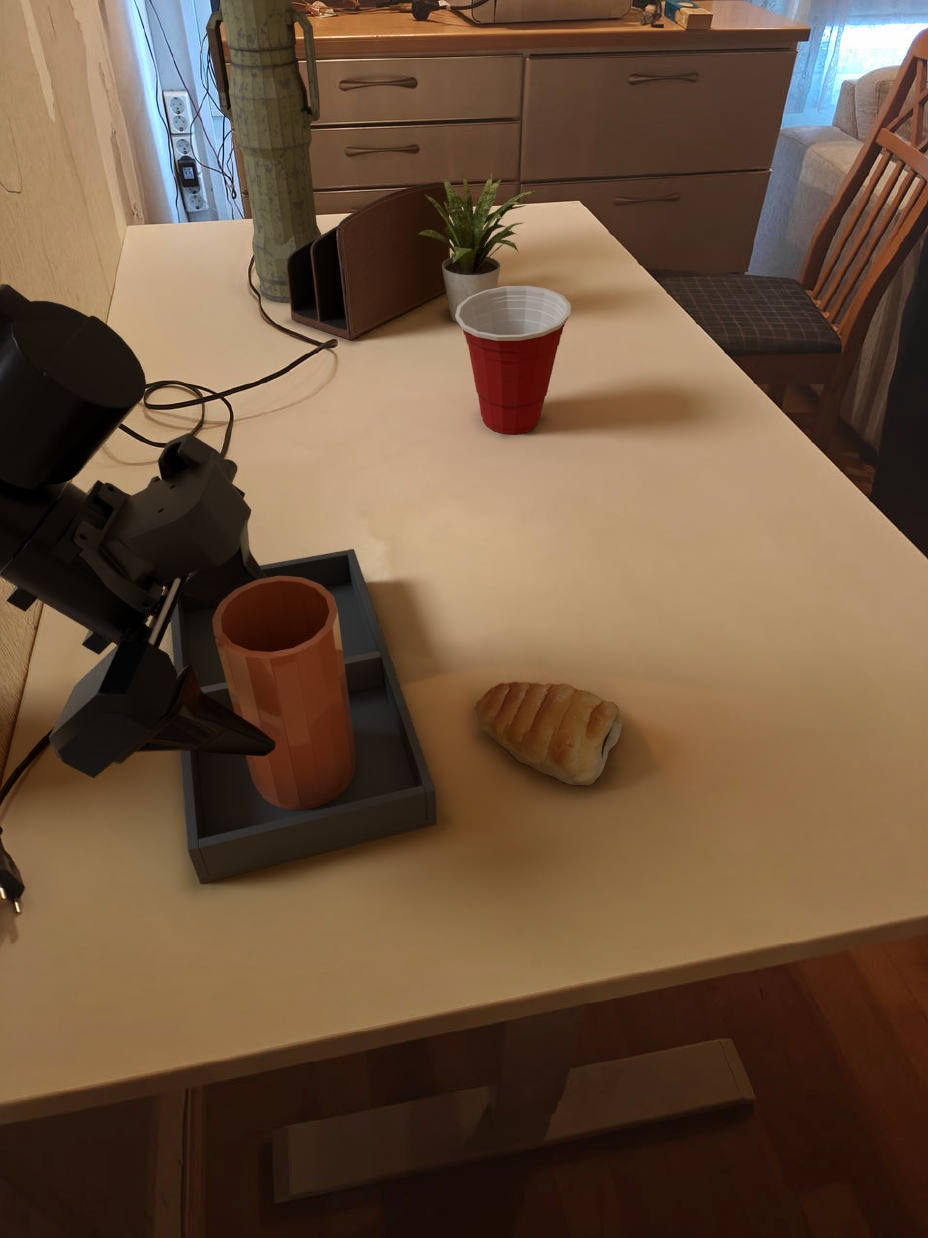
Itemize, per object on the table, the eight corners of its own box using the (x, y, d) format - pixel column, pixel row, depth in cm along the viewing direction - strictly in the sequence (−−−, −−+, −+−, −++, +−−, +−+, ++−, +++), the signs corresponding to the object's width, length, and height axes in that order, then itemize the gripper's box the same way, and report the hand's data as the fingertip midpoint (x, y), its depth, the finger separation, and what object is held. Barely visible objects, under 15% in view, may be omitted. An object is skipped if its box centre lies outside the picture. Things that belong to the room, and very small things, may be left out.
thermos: (256, 275, 118) (205, -48, 95) (342, 277, 118) (313, -47, 94) (240, 301, 111) (181, -40, 88) (331, 303, 111) (297, -39, 88)
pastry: (458, 749, 57) (458, 710, 54) (497, 682, 61) (499, 643, 59) (595, 798, 54) (602, 759, 51) (626, 724, 59) (634, 684, 56)
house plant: (523, 348, 101) (530, 199, 90) (407, 340, 103) (400, 192, 92) (535, 300, 112) (543, 161, 101) (429, 293, 113) (426, 156, 103)
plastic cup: (437, 409, 91) (435, 295, 83) (527, 387, 94) (533, 275, 86) (487, 459, 83) (490, 339, 75) (582, 432, 87) (594, 315, 79)
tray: (200, 884, 49) (187, 850, 47) (177, 615, 67) (167, 581, 64) (437, 824, 52) (435, 790, 50) (357, 582, 70) (353, 548, 67)
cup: (230, 784, 54) (186, 630, 45) (294, 715, 58) (265, 562, 50) (316, 827, 52) (286, 673, 43) (376, 752, 56) (360, 598, 47)
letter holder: (452, 290, 114) (451, 174, 105) (351, 342, 103) (340, 216, 93) (393, 273, 119) (388, 160, 109) (290, 321, 107) (274, 199, 98)
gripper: (38, 554, 32) (359, 754, 39) (175, 337, 46) (394, 514, 53) (-86, 696, 37) (217, 848, 45) (70, 463, 51) (282, 608, 58)
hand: (286, 687), depth 50 cm, fingers open, 9 cm apart
